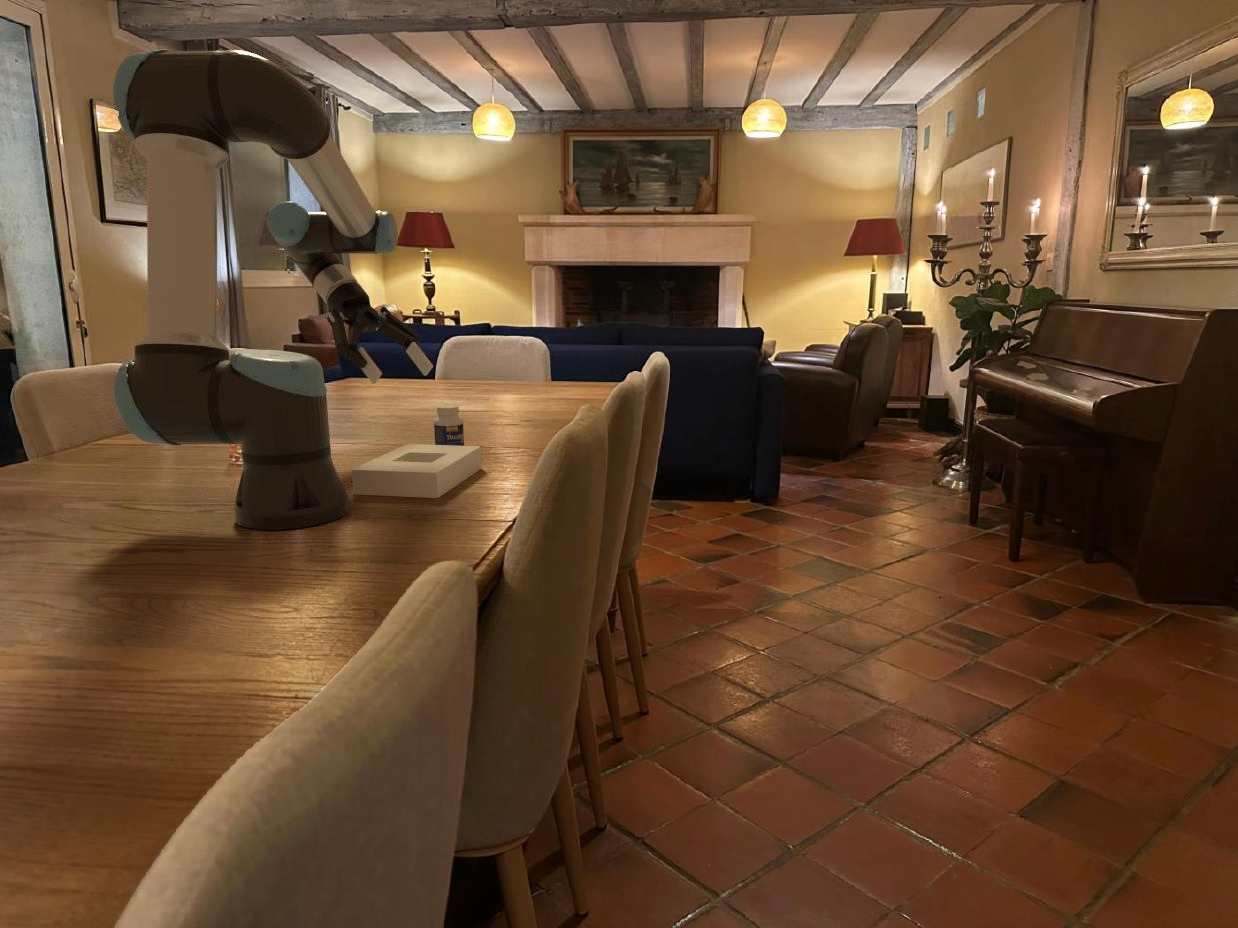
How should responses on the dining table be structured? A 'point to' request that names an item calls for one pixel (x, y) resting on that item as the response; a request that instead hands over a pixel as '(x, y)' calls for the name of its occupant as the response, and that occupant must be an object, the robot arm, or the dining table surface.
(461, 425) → the pill bottle
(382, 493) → the socket block
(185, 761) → the dining table surface
